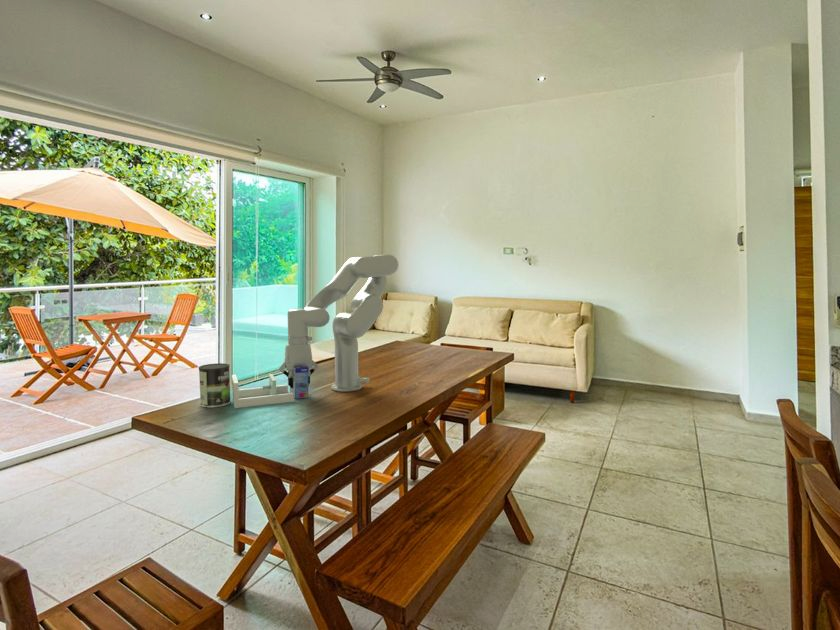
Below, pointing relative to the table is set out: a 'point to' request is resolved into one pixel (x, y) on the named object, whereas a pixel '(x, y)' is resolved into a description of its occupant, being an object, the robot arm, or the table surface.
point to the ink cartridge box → (300, 382)
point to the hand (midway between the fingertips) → (299, 386)
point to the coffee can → (214, 385)
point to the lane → (259, 400)
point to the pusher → (271, 385)
